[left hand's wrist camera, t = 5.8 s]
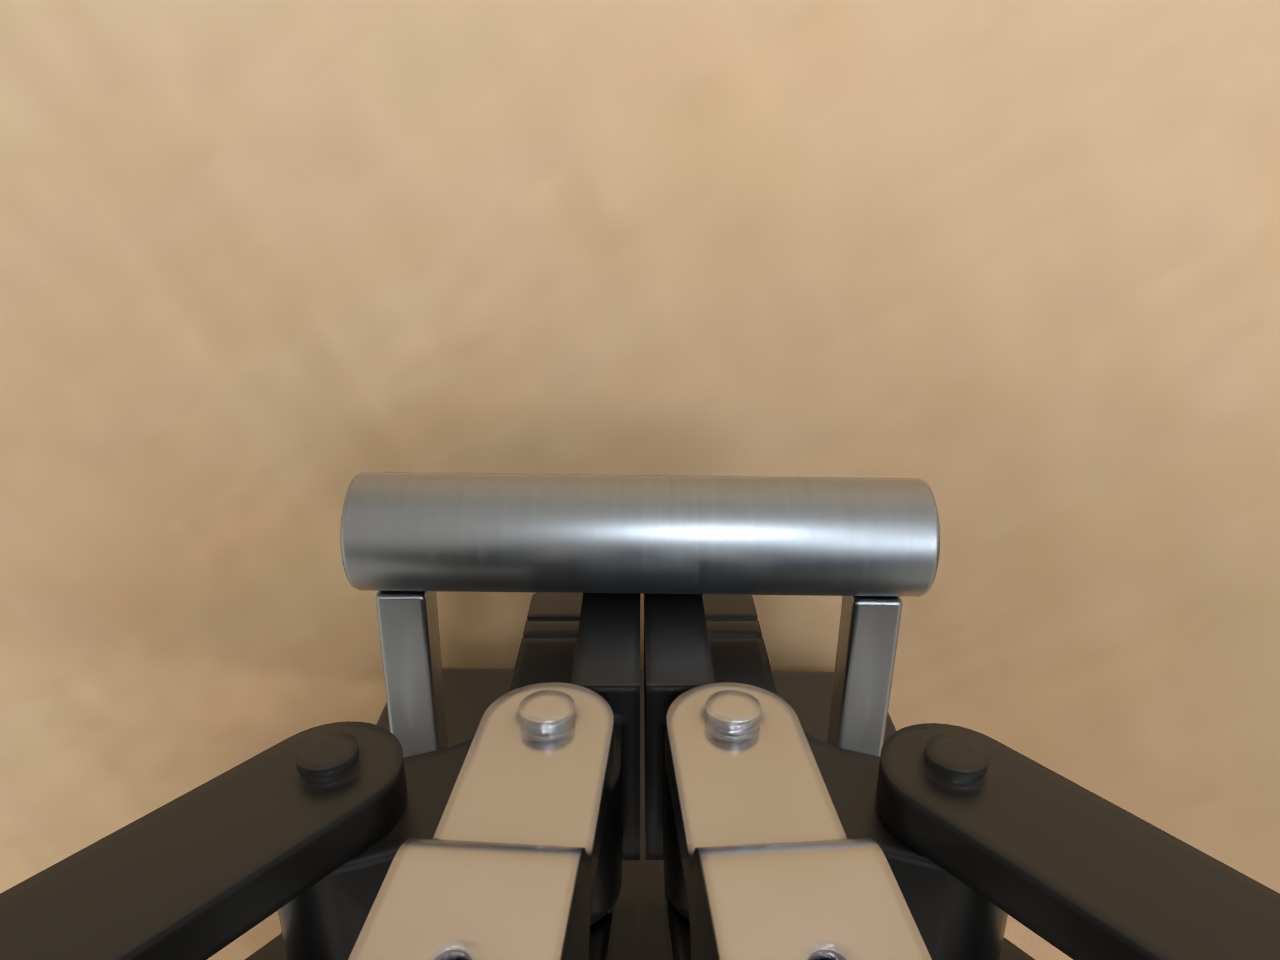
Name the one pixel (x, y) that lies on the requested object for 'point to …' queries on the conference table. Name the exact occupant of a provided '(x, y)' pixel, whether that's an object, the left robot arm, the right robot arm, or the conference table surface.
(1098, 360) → the conference table surface
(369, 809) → the left robot arm
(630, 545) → the drawer
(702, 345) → the conference table surface
